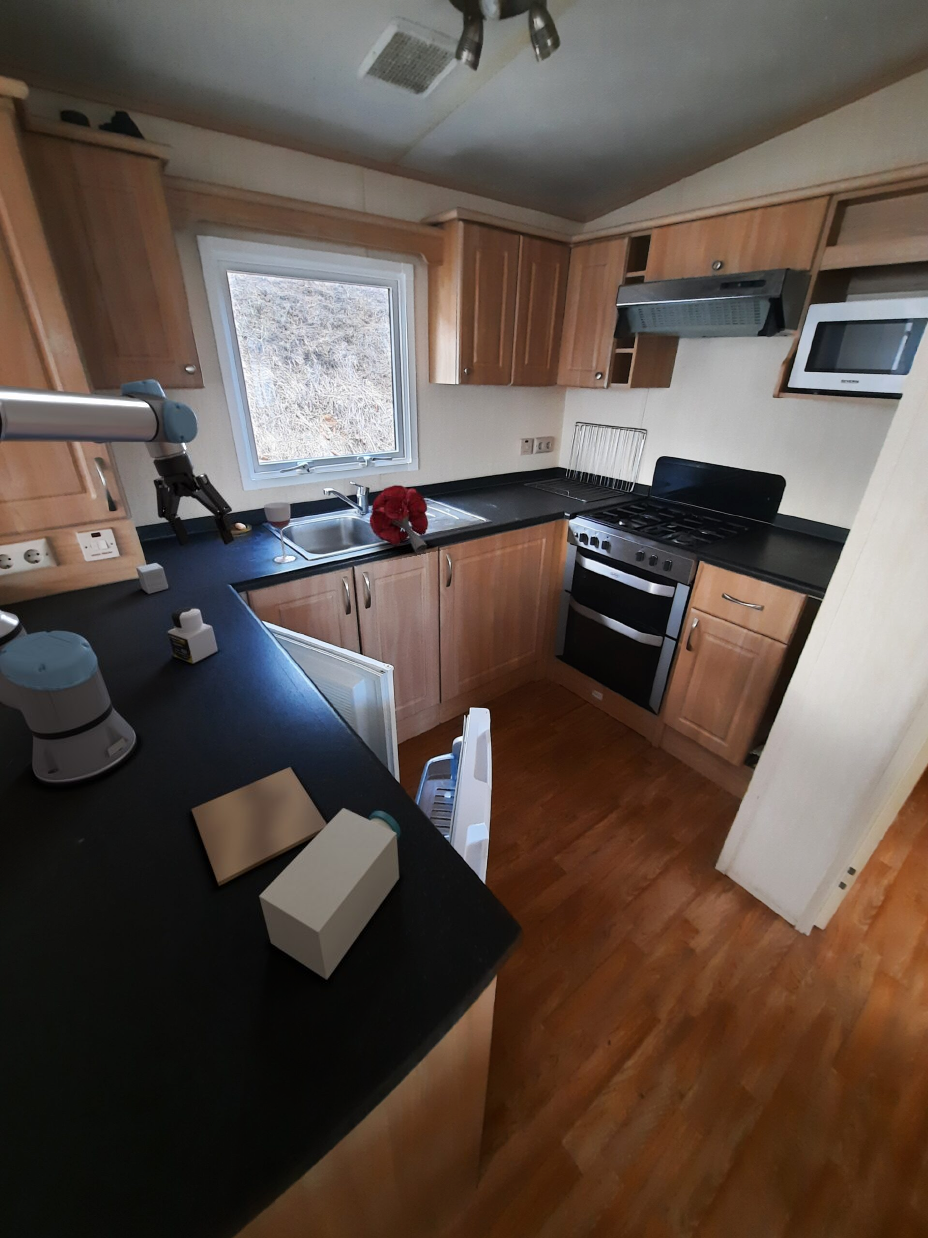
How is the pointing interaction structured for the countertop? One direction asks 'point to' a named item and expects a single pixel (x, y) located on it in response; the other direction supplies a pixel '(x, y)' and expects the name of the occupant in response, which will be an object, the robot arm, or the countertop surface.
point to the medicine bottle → (191, 635)
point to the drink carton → (332, 889)
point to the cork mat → (256, 824)
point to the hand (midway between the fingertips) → (207, 543)
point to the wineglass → (279, 523)
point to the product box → (152, 578)
